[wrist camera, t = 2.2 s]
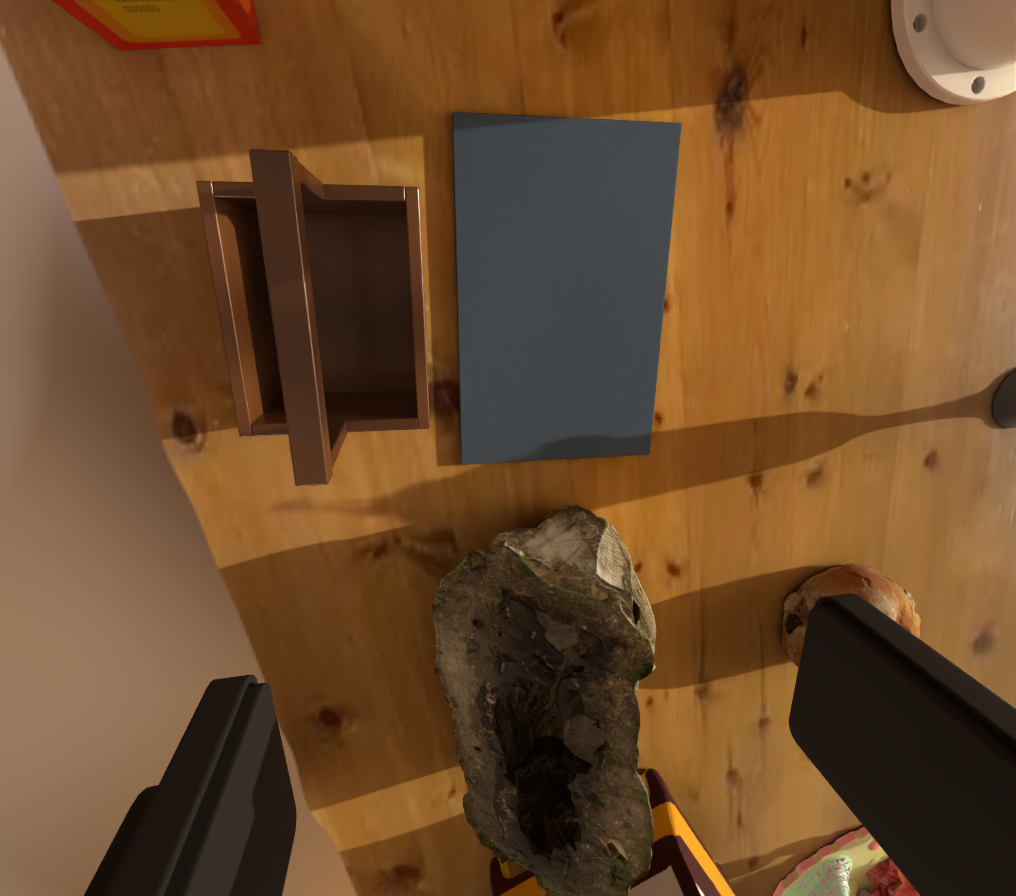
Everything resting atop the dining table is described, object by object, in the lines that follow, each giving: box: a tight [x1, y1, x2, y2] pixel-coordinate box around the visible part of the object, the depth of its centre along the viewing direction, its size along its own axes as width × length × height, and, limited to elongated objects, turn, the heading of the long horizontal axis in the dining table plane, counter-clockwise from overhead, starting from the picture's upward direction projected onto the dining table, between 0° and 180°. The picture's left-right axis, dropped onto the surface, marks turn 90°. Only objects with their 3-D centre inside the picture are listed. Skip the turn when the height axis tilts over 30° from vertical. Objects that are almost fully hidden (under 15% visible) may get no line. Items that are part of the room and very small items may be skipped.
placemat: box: [452, 112, 681, 464], centre depth 32 cm, size 20×13×1 cm, turn 179°
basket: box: [196, 149, 430, 486], centre depth 24 cm, size 11×9×14 cm
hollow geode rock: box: [433, 505, 659, 896], centre depth 36 cm, size 28×13×15 cm
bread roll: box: [782, 564, 921, 667], centre depth 42 cm, size 10×10×8 cm
